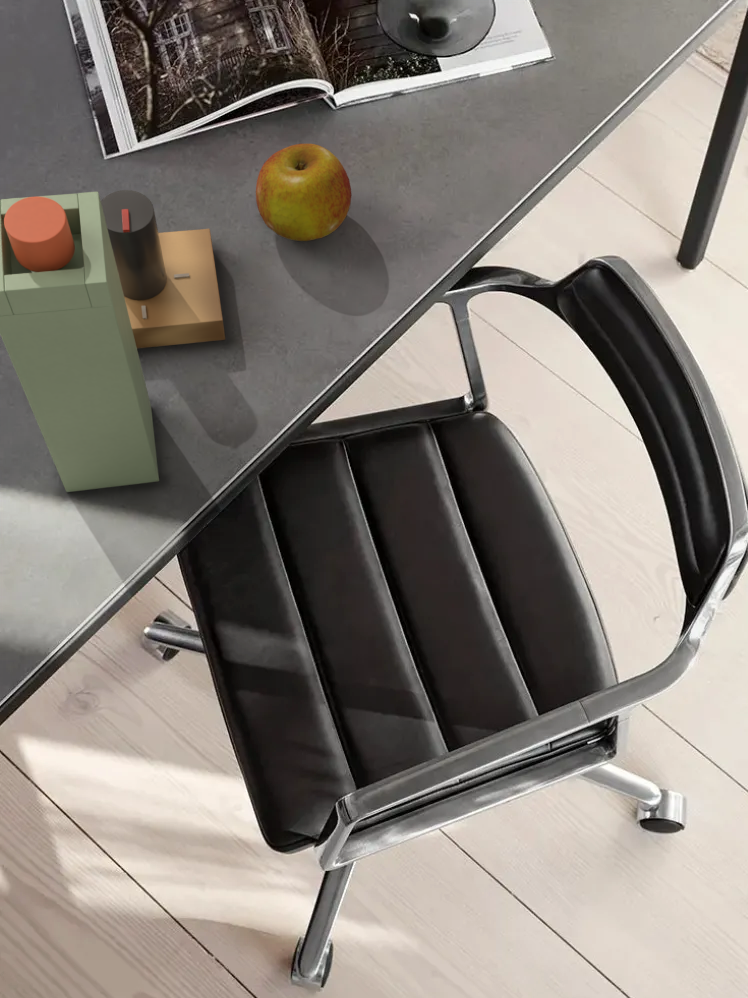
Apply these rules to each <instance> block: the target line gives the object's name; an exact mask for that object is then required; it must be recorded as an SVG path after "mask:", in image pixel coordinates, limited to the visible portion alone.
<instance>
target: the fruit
mask: <svg viewBox="0 0 748 998" xmlns="http://www.w3.org/2000/svg"><path fill="white" fill-rule="evenodd" d="M255 201H256V205H257V210H258V213H259V215H260V218H261V219H262V221H263V223H264V224H265V225H266V226H267V228H268V229H270V230H271V231H272V232H274V233H275V234H277V236H279V237H282V238H285V239H286V240H290V241H296V242H308V241H314V240H318V239H323V238H324V237H326V236H329V235H330V234H332V233H333V232H335V231H336V230H337V229H338V228H339V227H340V226H341V225H342V223H343V222H344V221H345V219H346V217H347V216H348V213H349V210H350V208H351V202H352V187H351V181H350V178H349V176H348V173H347V171H346V169H345V167H344V166H343V164H342V163H341V161H340V159H339V158H338V157H337V156H336V155H334V153H333V152H331V151H330V150H329V149H327V148H326V147H323V146H321V145H319V144H315V143H297V144H292V145H289V146H286V147H284V148H281V149H279V150H278V151H276V152H274V153H273V154H271V155H270V156H269V157H268V158H267V159H266V161H264V163H263V164H262V166H261V168H260V170H259V172H258V176H257V179H256V186H255Z"/></svg>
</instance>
